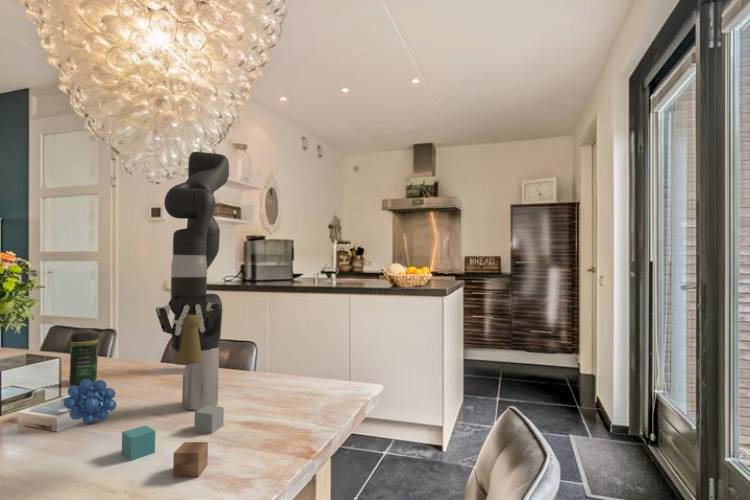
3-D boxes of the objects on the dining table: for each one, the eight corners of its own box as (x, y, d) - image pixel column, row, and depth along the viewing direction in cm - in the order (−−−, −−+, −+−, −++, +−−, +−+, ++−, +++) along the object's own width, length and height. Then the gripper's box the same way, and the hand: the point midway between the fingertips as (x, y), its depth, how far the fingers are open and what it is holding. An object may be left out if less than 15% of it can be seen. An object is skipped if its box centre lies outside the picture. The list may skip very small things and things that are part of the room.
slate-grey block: (194, 431, 106) (194, 412, 107) (206, 424, 111) (206, 405, 111) (211, 434, 105) (212, 414, 105) (223, 426, 110) (223, 407, 110)
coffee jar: (96, 384, 145) (97, 330, 145) (68, 387, 141) (69, 332, 141) (97, 377, 153) (98, 326, 154) (71, 380, 149) (72, 328, 150)
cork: (191, 365, 92) (192, 315, 93) (167, 364, 94) (168, 314, 94) (207, 359, 98) (208, 312, 98) (184, 357, 99) (185, 311, 100)
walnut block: (173, 478, 84) (173, 452, 84) (183, 465, 89) (184, 442, 89) (198, 478, 84) (198, 452, 84) (207, 465, 89) (207, 442, 89)
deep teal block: (121, 454, 94) (122, 432, 94) (144, 446, 98) (145, 425, 98) (131, 461, 91) (131, 438, 91) (154, 453, 95) (155, 430, 95)
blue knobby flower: (63, 434, 104) (64, 385, 104) (62, 425, 109) (63, 379, 110) (118, 423, 111) (119, 378, 111) (114, 416, 116) (115, 372, 117)
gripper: (211, 273, 104) (210, 343, 104) (150, 275, 94) (148, 352, 93) (226, 274, 99) (225, 347, 99) (162, 276, 89) (161, 357, 88)
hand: (187, 349), depth 96 cm, fingers closed on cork, 4 cm apart
